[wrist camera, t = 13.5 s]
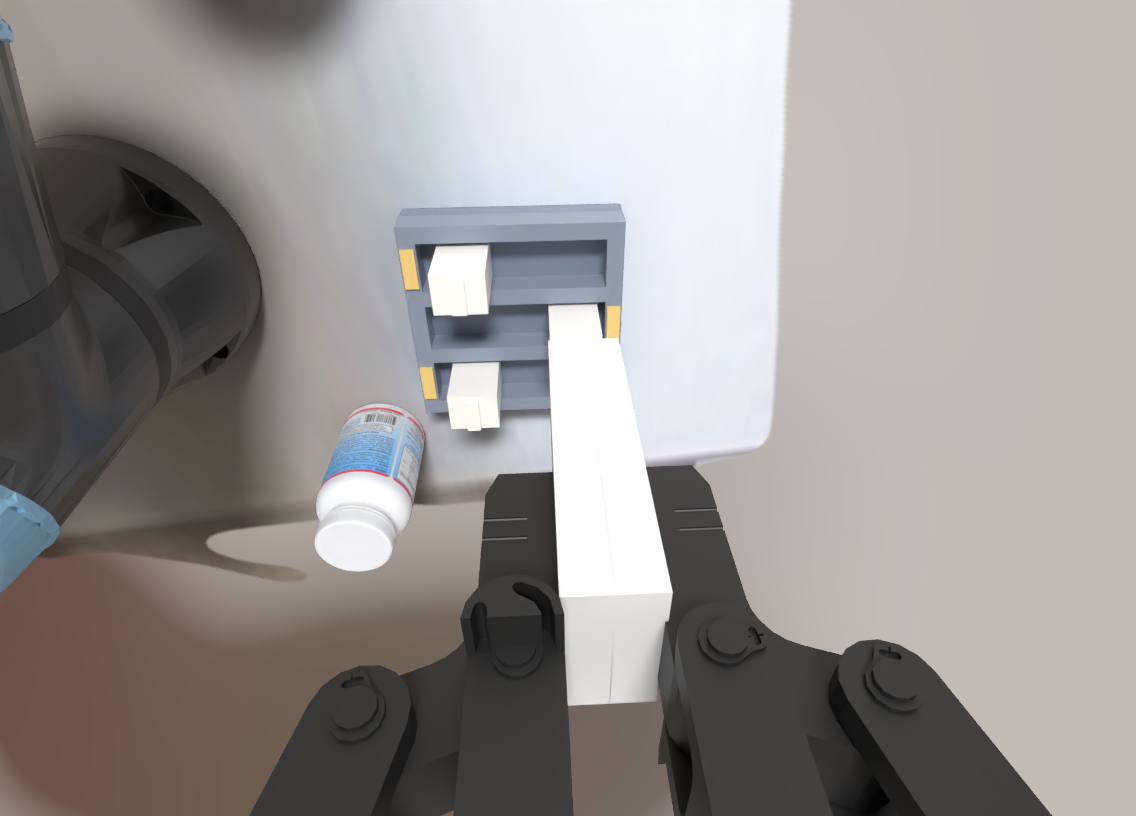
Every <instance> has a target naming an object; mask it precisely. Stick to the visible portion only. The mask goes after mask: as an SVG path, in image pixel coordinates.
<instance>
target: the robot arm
mask: <svg viewBox="0 0 1136 816" xmlns="http://www.w3.org/2000/svg"><path fill="white" fill-rule="evenodd" d="M9 42H14V38H13V33H12V30H11V28H10V26H9V24H8V23H6V22H5V21H4V20H3V19H2V18H1V16H0V593H1V592H2V591H4V590H5V589H6V588H7V587H8V586H9V585H10V584H11V583H12V582H13V581H14V580H15V579H16V578H17V577H18V576H19V575H20V574H21V573H22V572H23V571H24V569H26V568H27V566H28V565H29V564H30V563H31V562H32V561H33V560H34V559H35V558H36V557H37V556H38V555H39V554H40V553H41V552H42V551H43V550H44V549H46V548H48V547H49V546H51V545H52V544H53V543H54V542H55V540H56V539H57V537H58V536H59V533H60V531H59V530H58V529H60V527H61V525H62V524H63V523H64V522H65V520H66V519H67V518H68V516H69V515H70V514H71V513H72V511H73V510H74V509H75V507H76V506H77V505H78V504H79V502H80V501H81V500H82V498H83V497H84V496H85V495H86V493H87V492H88V491H89V489H90V488H91V487H92V486H93V484H94V483H95V482H96V480H97V479H98V478H99V477H100V475H101V474H102V473H103V472H104V470H105V469H106V468H107V466H108V465H109V464H110V463H111V461H112V460H113V459H114V457H115V456H116V455H117V454H118V452H119V451H120V450H121V448H122V447H123V446H124V445H125V443H126V442H127V441H128V439H129V438H130V437H131V436H132V434H133V433H134V432H135V430H136V429H137V428H138V427H139V425H140V424H141V423H142V421H143V420H144V419H145V418H146V416H147V415H148V414H149V412H150V411H151V410H152V408H153V407H154V406H155V404H156V403H157V402H158V401H159V400H160V399H161V398H163V397H165V396H167V395H169V394H171V393H173V392H175V391H177V390H179V389H181V388H183V387H185V386H187V385H189V384H191V383H193V382H195V381H197V380H199V379H201V378H203V377H205V376H207V375H208V374H210V373H212V372H214V371H215V370H217V369H218V368H220V367H221V366H222V365H223V364H224V363H226V362H227V361H228V360H229V359H230V358H231V357H232V356H233V355H234V354H235V352H236V351H237V350H238V349H239V347H240V346H241V344H242V343H243V341H244V340H245V339H246V337H247V336H248V334H249V333H250V331H251V329H252V327H253V325H254V323H255V321H256V318H257V315H258V311H259V306H260V296H261V290H260V279H259V274H258V269H257V266H256V262H255V259H254V256H253V254H252V251H251V249H250V247H249V245H248V243H247V241H246V239H245V237H244V235H243V233H242V232H241V230H240V229H239V227H238V225H237V224H236V223H235V221H234V220H233V218H232V217H231V216H230V215H229V213H228V212H227V211H226V209H225V208H224V207H223V206H222V205H221V204H220V203H219V202H218V201H217V200H216V199H215V198H214V197H213V196H212V195H211V194H210V193H209V192H208V191H207V190H206V189H205V188H204V187H203V186H202V185H200V184H199V183H198V182H197V181H195V180H194V179H193V178H192V177H190V176H189V175H187V174H186V173H185V172H183V171H182V170H180V169H179V168H177V167H176V166H174V165H172V164H171V163H169V162H167V161H165V160H164V159H162V158H160V157H158V156H156V155H154V154H152V153H150V152H147V151H145V150H143V149H140V148H138V147H135V146H132V145H130V144H127V143H123V142H120V141H116V140H112V139H108V138H102V137H96V136H87V135H63V136H55V137H50V138H45V139H42V140H39V141H36V142H34V140H33V136H32V132H31V128H30V124H29V120H28V116H27V112H26V108H25V104H24V100H23V96H22V92H21V88H20V84H19V80H18V76H17V72H16V68H15V64H14V61H13V57H12V53H11V49H10V45H9ZM548 353H549V386H550V419H551V448H552V472H547V473H521V474H499V475H498V476H497V478H496V479H495V481H494V483H493V484H492V486H491V487H490V489H489V490H488V492H487V494H486V496H485V509H484V523H483V535H482V548H481V559H480V572H479V586H478V588H477V589H476V591H475V592H474V593H473V594H472V595H471V596H470V598H469V599H468V600H467V601H466V603H465V606H464V609H463V612H462V615H461V618H460V620H461V625H462V631H463V636H464V642H463V643H462V644H461V645H460V646H459V647H458V648H457V649H456V650H455V651H454V652H452V653H451V654H449V655H448V656H447V657H446V658H443V659H441V660H439V661H437V662H435V663H433V664H431V665H428V666H425V667H423V668H420V669H417V670H414V671H412V672H409V673H406V674H403V675H400V676H399V675H398V674H397V673H396V672H394V671H392V670H389V669H387V668H384V667H382V666H358V667H356V668H353V669H350V670H347V671H344V672H341V673H339V674H338V675H337V676H335V677H334V678H333V679H331V680H330V681H329V682H327V683H326V684H325V685H323V686H322V687H321V688H320V690H319V691H318V693H317V694H316V695H315V696H314V698H313V699H312V701H311V702H310V703H309V705H308V707H307V709H306V710H305V712H304V714H303V716H302V718H301V720H300V722H299V724H298V725H297V727H296V729H295V731H294V733H293V735H292V737H291V739H290V740H289V742H288V744H287V746H286V748H285V750H284V752H283V754H282V756H281V757H280V759H279V761H278V763H277V765H276V767H275V769H274V771H273V772H272V774H271V776H270V778H269V780H268V782H267V784H266V786H265V787H264V789H263V791H262V793H261V795H260V797H259V799H258V801H257V803H256V804H255V806H254V808H253V810H252V812H251V814H250V816H441V815H443V814H445V813H448V812H450V811H452V810H454V816H573V798H572V779H571V760H570V740H569V720H568V706H570V705H588V704H589V705H590V704H609V703H629V702H649V701H657V698H658V691H659V689H660V695H661V701H662V706H663V713H664V720H663V726H662V732H661V738H660V745H659V759H658V764H665V763H666V767H667V773H668V779H669V786H670V792H671V798H672V804H673V811H674V816H1052V815H1051V814H1050V813H1049V811H1048V810H1047V809H1046V808H1045V807H1044V805H1043V804H1042V803H1041V802H1040V800H1039V799H1038V798H1037V797H1036V795H1035V794H1034V793H1033V792H1032V791H1031V789H1030V788H1029V787H1028V785H1027V784H1026V783H1025V782H1024V781H1023V780H1022V778H1021V777H1020V776H1019V774H1018V773H1017V772H1016V771H1015V769H1014V768H1013V767H1012V766H1011V765H1010V763H1009V762H1008V761H1007V760H1006V758H1005V757H1004V756H1003V755H1002V753H1001V752H1000V751H999V750H998V748H997V747H996V746H995V745H994V744H993V742H992V741H991V740H990V739H989V737H988V736H987V735H986V734H985V732H984V731H983V730H982V729H981V727H980V726H979V725H978V724H977V723H976V721H975V720H974V719H973V718H972V716H971V715H970V714H969V713H968V711H967V710H966V709H965V708H964V707H963V705H962V704H961V703H960V702H959V700H958V699H957V698H956V697H955V695H954V694H953V693H952V692H951V691H950V689H949V688H948V687H947V686H946V684H945V683H944V682H943V681H942V679H941V678H940V677H939V676H938V674H937V673H936V672H935V671H934V670H933V669H932V668H931V667H930V666H929V665H928V664H927V663H926V662H925V661H923V660H922V659H921V658H920V657H919V656H918V655H916V654H915V653H913V652H911V651H909V650H907V649H905V648H904V647H902V646H900V645H898V644H894V643H890V642H886V641H882V640H866V641H859V642H857V643H855V644H854V645H852V646H850V647H849V648H847V649H846V650H845V652H844V653H843V655H839V654H835V653H831V652H827V651H823V650H819V649H815V648H812V647H808V646H804V645H800V644H797V643H794V642H792V641H789V640H786V639H784V638H782V637H781V636H779V635H777V634H776V633H774V632H772V631H771V630H770V629H769V628H767V627H766V626H765V625H764V624H763V623H762V622H761V621H760V620H759V619H758V618H757V617H756V615H755V614H754V613H753V611H752V610H751V608H750V606H749V604H748V601H747V599H746V596H745V593H744V590H743V588H742V584H741V581H740V578H739V575H738V572H737V568H736V565H735V562H734V559H733V556H732V553H731V550H730V547H729V544H728V541H727V537H726V534H725V531H723V525H722V522H721V519H720V516H719V513H718V512H717V507H716V504H715V500H714V497H713V494H712V491H711V488H710V485H709V484H708V482H707V481H706V480H705V479H704V478H703V477H702V476H701V475H700V474H699V473H698V472H697V470H696V469H695V468H694V467H693V466H692V465H688V466H662V467H646V466H645V461H644V456H643V452H642V447H641V442H640V438H639V433H638V429H637V424H636V419H635V415H634V410H633V405H632V401H631V396H630V391H629V387H628V382H627V377H626V373H625V368H624V363H623V359H622V354H621V349H620V345H619V340H618V338H605V339H572V340H548Z"/></svg>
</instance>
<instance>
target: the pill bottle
mask: <svg viewBox="0 0 1136 816" xmlns="http://www.w3.org/2000/svg"><path fill="white" fill-rule="evenodd" d="M424 442H425V437H424V431H423V428H422V426H421V424H420V423H419V421H418V420H417V419H416V418H415V417H414V416H413V415H412V414H410V413H409V412H407V411H406V410H404V409H402V408H400V407H397V406H394V405H390V404H382V403H376V404H369V405H365V406H363V407H360V408H358V409H357V410H355V411H354V412H353V413H352V414H351V415H350V416H349V417H348V418H347V420H346V422H345V423H344V426H343V428H342V431H341V433H340V436H339V439H338V441H337V444H336V447H335V450H334V452H333V455H332V458H331V461H330V463H329V466H328V469H327V472H326V474H325V477H324V480H323V483H322V485H321V488H320V491H319V494H318V497H317V501H316V511H317V516H318V518H319V520H320V524H319V526H318V531H317V535H316V537H315V548H316V550H317V552H318V554H319V555H320V556H321V557H322V559H324V560H325V561H327V562H328V563H329V564H331V565H333V566H335V567H337V568H340V569H344V570H349V571H368V570H372V569H375V568H378V567H380V566H381V565H383V564H384V563H386V562H387V561H388V559H389V558H390V556H391V554H392V550H393V546H394V543H395V540H396V536H398V535H399V534H400V533H401V532H402V531H403V530H404V529H405V527H406V526H407V524H408V522H409V520H410V516H411V512H412V507H413V502H414V496H415V491H416V486H417V480H418V475H419V470H420V464H421V459H422V454H423V448H424Z"/></svg>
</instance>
